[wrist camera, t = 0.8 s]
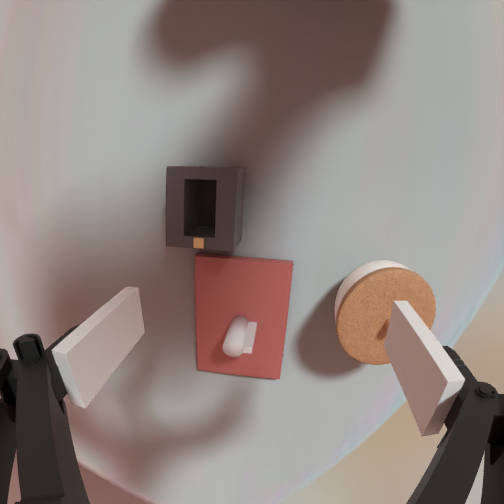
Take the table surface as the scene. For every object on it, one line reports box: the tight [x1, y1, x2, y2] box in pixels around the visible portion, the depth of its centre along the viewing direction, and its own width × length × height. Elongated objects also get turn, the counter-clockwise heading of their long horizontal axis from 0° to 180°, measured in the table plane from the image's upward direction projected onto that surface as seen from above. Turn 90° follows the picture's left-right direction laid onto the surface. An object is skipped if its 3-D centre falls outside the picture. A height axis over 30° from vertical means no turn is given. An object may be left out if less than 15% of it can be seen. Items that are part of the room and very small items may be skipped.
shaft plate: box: [195, 253, 293, 379], centre depth 34 cm, size 16×11×7 cm
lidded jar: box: [335, 260, 436, 365], centre depth 30 cm, size 11×11×9 cm
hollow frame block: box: [166, 166, 245, 251], centre depth 32 cm, size 8×7×5 cm
